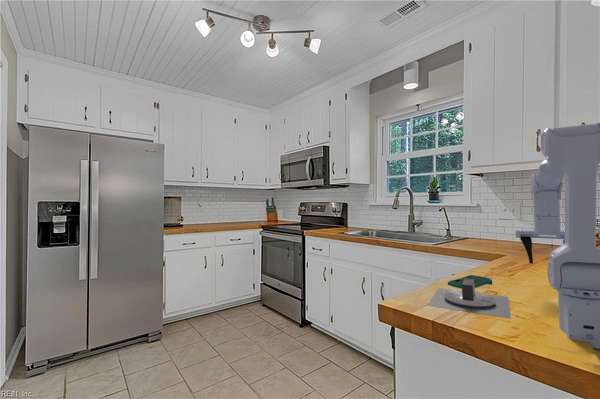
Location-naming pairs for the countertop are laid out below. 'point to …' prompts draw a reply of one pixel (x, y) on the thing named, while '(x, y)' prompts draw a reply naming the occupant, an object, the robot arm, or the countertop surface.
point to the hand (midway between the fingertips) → (548, 264)
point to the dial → (469, 296)
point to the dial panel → (497, 310)
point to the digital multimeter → (477, 279)
